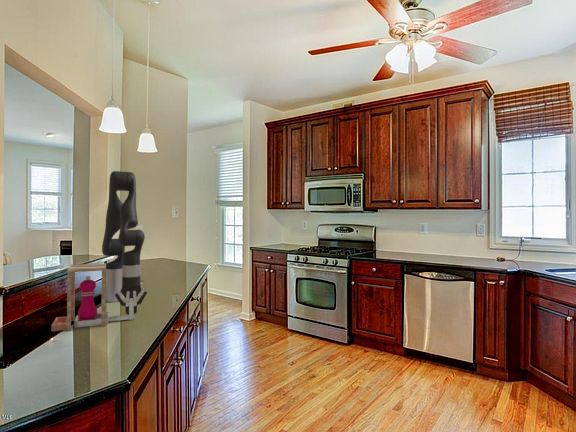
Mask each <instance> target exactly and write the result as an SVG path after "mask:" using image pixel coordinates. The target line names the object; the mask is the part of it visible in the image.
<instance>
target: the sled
mask: <svg viewBox="0 0 576 432" xmlns="http://www.w3.org/2000/svg"><path fill="white" fill-rule="evenodd" d="M134 315H135V314H134V300H133V298H130V299H129V315H127V314H125V315H115V316H109V312H108V311H106V312H105V325H108V323H109V322H115V321H116V322H117V321H125V320H129V321H130V320H131V321H132V320H134ZM95 318H96V319H91V320H82V321H79V320H80V318H79V317H78V314H77V315H76V316H75V321H73V328H74V329H76V328H77V329H78V328H85V327H94V326H101V312H97V315H96V316H95Z"/></svg>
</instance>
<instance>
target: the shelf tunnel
mask: <svg viewBox="0 0 576 432" xmlns="http://www.w3.org/2000/svg"><path fill="white" fill-rule="evenodd" d="M106 263H107V262H106ZM106 263H105V262H103V263H102V262H101V263H85V264H84V263H83V264H81V263H80V264H71V265H70V266H69V267H68V268H67V280H66V281H67V284H66V287H67V288H66V289H67V290H66V291H67V292H66V294H67V295H66V297H67V299H66V300H67V301H66V306H67V307H66V317H67V329H66V331H67V332H68V331H71V330H72V327H71V326H72V322H74V321H75V318H76V316H75V315H76V314H75V313H76V312H75V311H76V310H75V309H76V308H75V307H76V301H75V300H76V298H75V297H76V277H75V276H76V273H81V272H84V273H85V272H99V271H100V272H101V307H100V308H101V309H100V310H101V311H100V313H101V325H100V326H101V328H104V327H105V325H106V324H105V312H107V307H106V306H107V305H106V304H107V302H106Z"/></svg>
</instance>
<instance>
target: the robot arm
mask: <svg viewBox="0 0 576 432" xmlns="http://www.w3.org/2000/svg"><path fill="white" fill-rule="evenodd" d="M108 183H109V185H108V202H107V207H106V208H107V209H106V214H105V215H106V216H105V229H104V235H103V239H102V245H101V253H102V254H103V256H105V257H115V256H117V257H116V258H115V259H113V260H112V261H111V260H110V261H108V262H106V303H115V302H116V303H117V302H119V304H120V305H121V306H122V307H125V315H129V299H133V300H134V315H136V313H137V312H138V310H137V309H138V307H137V306H139V305H141V304H142V302H143V301H144V299H145V297H146V296H147V294H148V292H147V290H143V288H142V287H141V283H142V282H141V279H142V278H141V275H142V272H141V270H142V269H141V252H142V250H143V249H142V248H143V244H144V242H145V238H146V237H145V232H143V230H140V229H134V228H136V227H138V223H139V221H138V220H139V219H138V214H137V184H136V176H135V174H134V172H131V171H119V170H117V171H116V170H115V171H112V172H111V173H110V175H109V182H108ZM121 191H124V192H128V196H127V197H126V198H125V200H124V201H123V202H122V201H121V199H120V197H119V195H118V193H117V192H121ZM118 232H119V234H118V238H113V237H114V236H115V235H116V234H117V233H118ZM132 246H133V249H131V250H127V251H125V250H126V249H125V248H126V247H132ZM139 294H140V298H139V299H138V301H137V297H138V296H139ZM124 299H125V302H124Z"/></svg>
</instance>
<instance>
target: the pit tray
mask: <svg viewBox="0 0 576 432" xmlns="http://www.w3.org/2000/svg"><path fill="white" fill-rule="evenodd" d="M50 326H51V327H50V328H51V332H59V331H67V316H59V317H58V316H57V317H55V319H54V320H53V322H52V324H51V325H50Z"/></svg>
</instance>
